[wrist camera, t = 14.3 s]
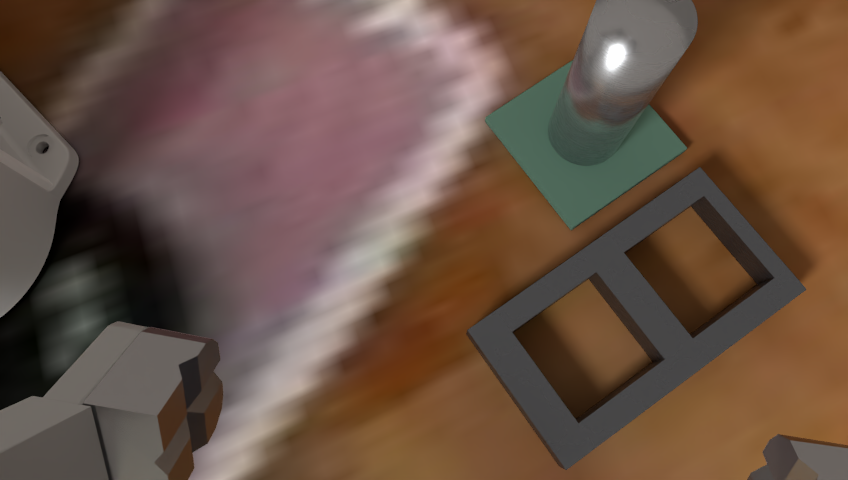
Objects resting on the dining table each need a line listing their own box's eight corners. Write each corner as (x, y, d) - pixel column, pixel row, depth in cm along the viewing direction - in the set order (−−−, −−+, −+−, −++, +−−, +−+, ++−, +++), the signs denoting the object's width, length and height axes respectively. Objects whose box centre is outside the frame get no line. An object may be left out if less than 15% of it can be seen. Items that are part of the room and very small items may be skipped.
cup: (533, 123, 40) (573, 6, 28) (590, 86, 40) (652, -44, 29) (578, 179, 39) (638, 81, 27) (636, 140, 39) (719, 28, 28)
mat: (485, 121, 41) (485, 117, 40) (594, 49, 42) (596, 44, 41) (571, 230, 39) (572, 227, 38) (683, 152, 40) (687, 148, 39)
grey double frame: (466, 334, 37) (467, 330, 35) (687, 178, 39) (699, 167, 37) (559, 466, 35) (566, 470, 33) (787, 295, 37) (806, 289, 35)
